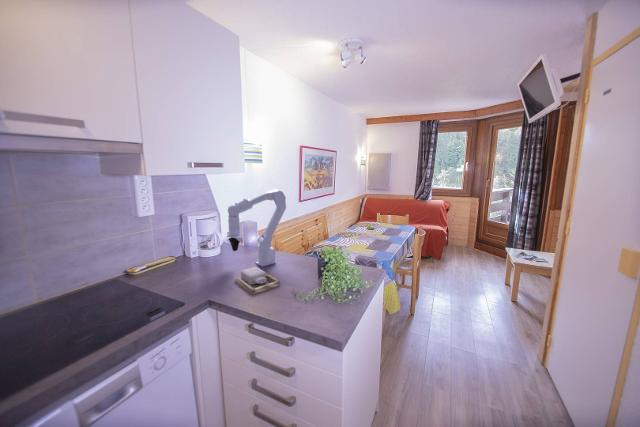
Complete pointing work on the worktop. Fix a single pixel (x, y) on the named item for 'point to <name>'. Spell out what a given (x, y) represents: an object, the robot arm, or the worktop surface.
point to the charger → (253, 275)
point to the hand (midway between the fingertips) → (235, 250)
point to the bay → (261, 288)
